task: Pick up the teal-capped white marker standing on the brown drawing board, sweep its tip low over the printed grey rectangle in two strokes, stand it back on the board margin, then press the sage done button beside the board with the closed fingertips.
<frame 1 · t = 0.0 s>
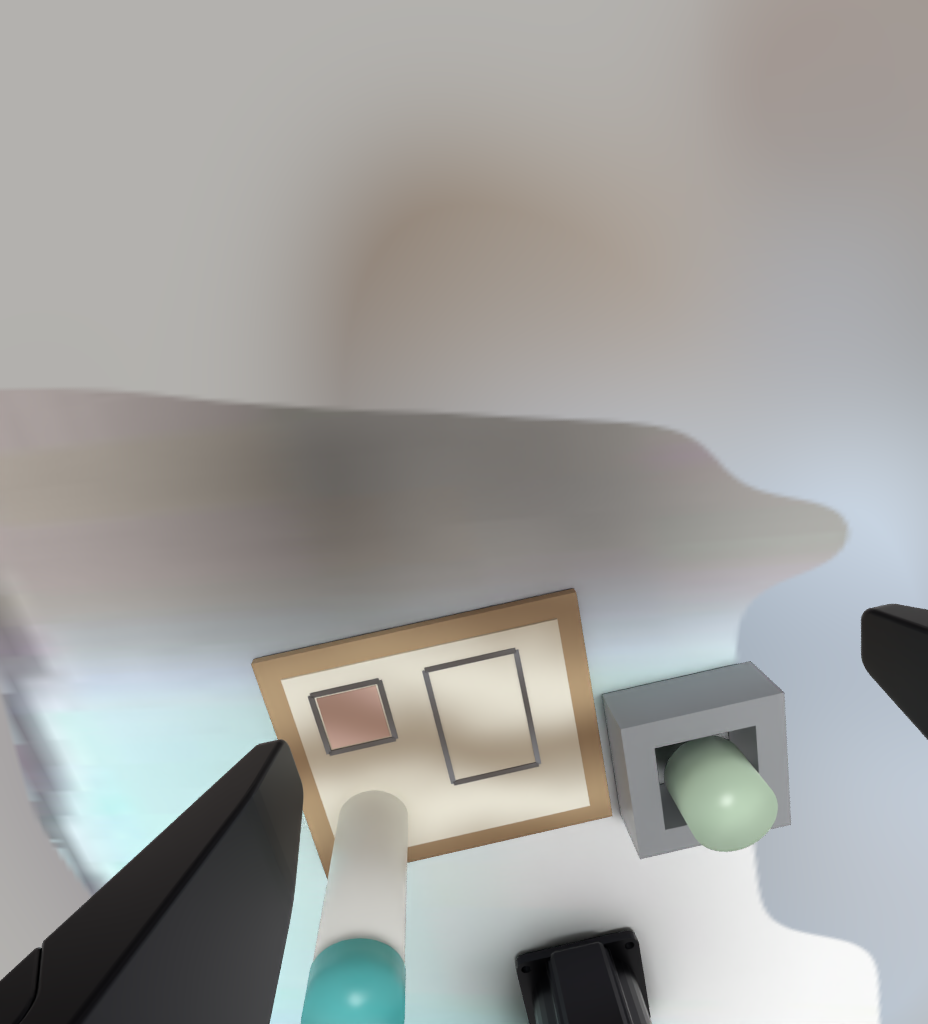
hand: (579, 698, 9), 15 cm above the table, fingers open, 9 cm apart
marker: (373, 819, 26), resting on drawing board
drawing board: (444, 739, 26), on the table
button housing: (683, 740, 27), on the table
done button: (718, 791, 24), point 3 cm above the table, slide at 0.0 cm
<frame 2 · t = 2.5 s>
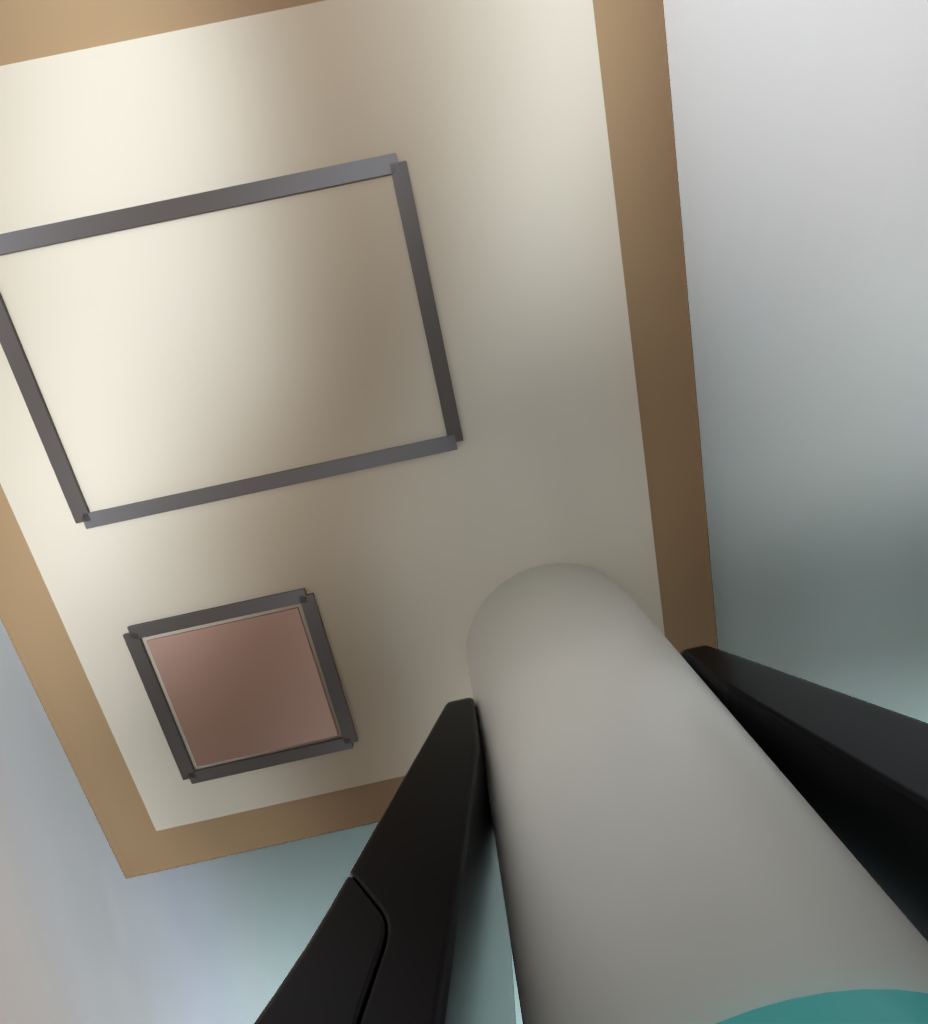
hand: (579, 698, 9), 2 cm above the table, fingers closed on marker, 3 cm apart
marker: (555, 646, 10), point 1 cm above the table, touching drawing board, gripper
drawing board: (337, 462, 9), on the table
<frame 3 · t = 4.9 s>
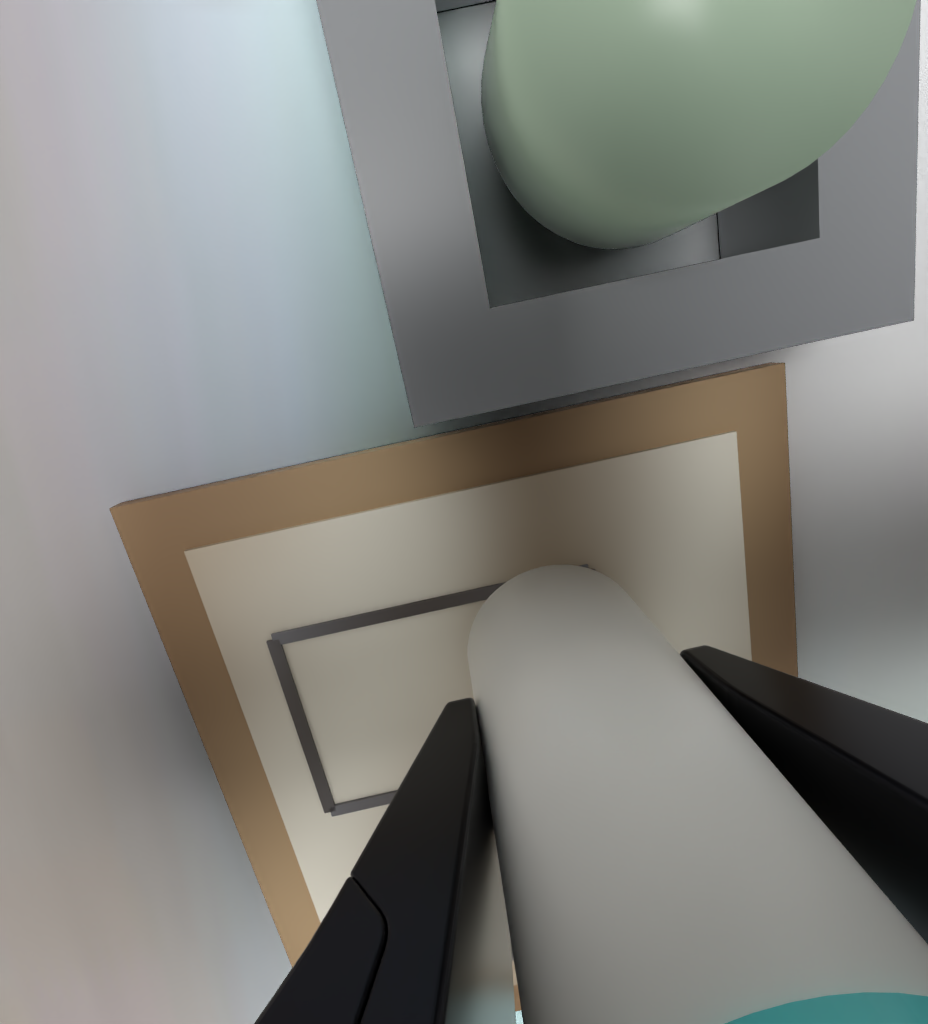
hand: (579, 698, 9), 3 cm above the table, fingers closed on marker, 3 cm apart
marker: (555, 647, 10), point 1 cm above the table, touching gripper
drawing board: (516, 750, 12), on the table
button housing: (579, 150, 9), on the table
done button: (662, 43, 6), point 3 cm above the table, slide at 0.0 cm
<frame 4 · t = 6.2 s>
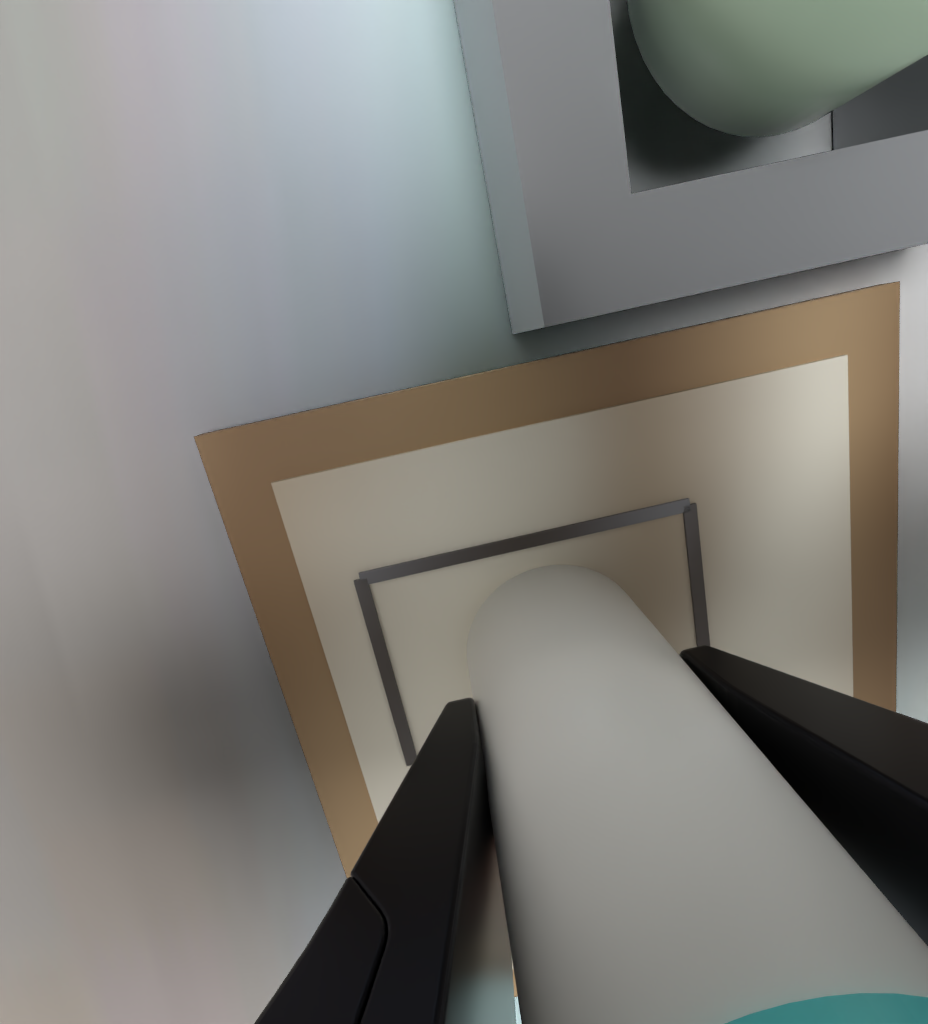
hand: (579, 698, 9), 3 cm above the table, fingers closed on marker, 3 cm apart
marker: (555, 647, 10), point 1 cm above the table, touching gripper
drawing board: (602, 701, 12), on the table
button housing: (693, 51, 9), on the table
when the fingers open (3 cm above the table, at t = 7.4 s): marker stays where it is, resting on drawing board.
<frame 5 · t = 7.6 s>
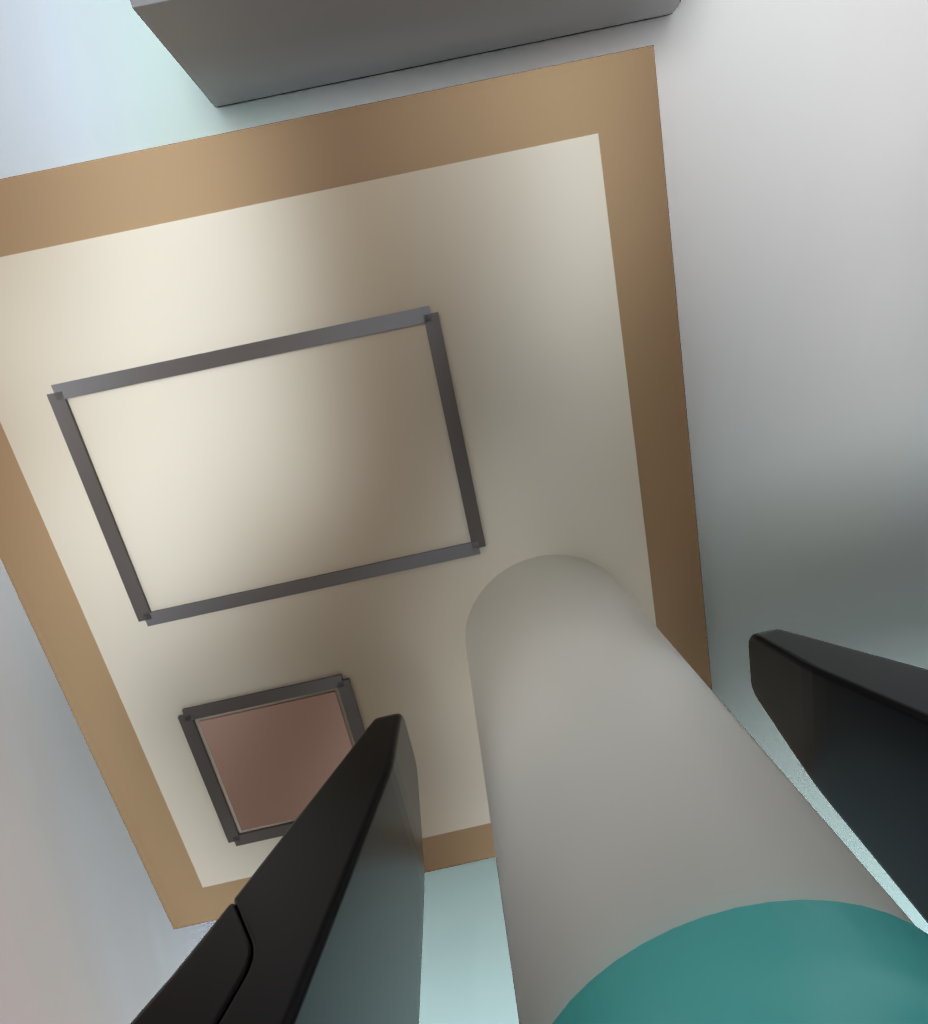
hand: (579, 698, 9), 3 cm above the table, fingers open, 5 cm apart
marker: (550, 635, 11), point 1 cm above the table, touching drawing board
drawing board: (371, 560, 10), on the table
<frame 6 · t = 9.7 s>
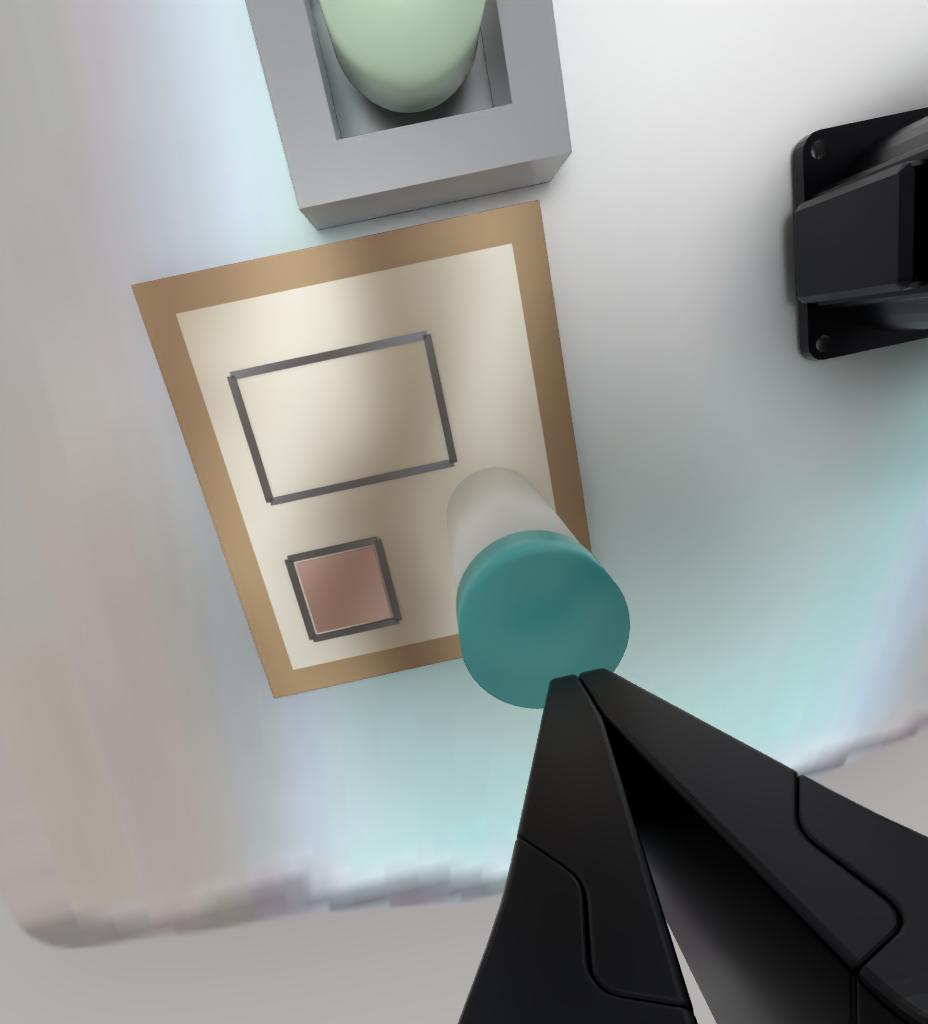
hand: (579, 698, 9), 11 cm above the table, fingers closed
marker: (494, 515, 19), point 1 cm above the table, touching drawing board
drawing board: (393, 472, 19), on the table
button housing: (406, 67, 16), on the table
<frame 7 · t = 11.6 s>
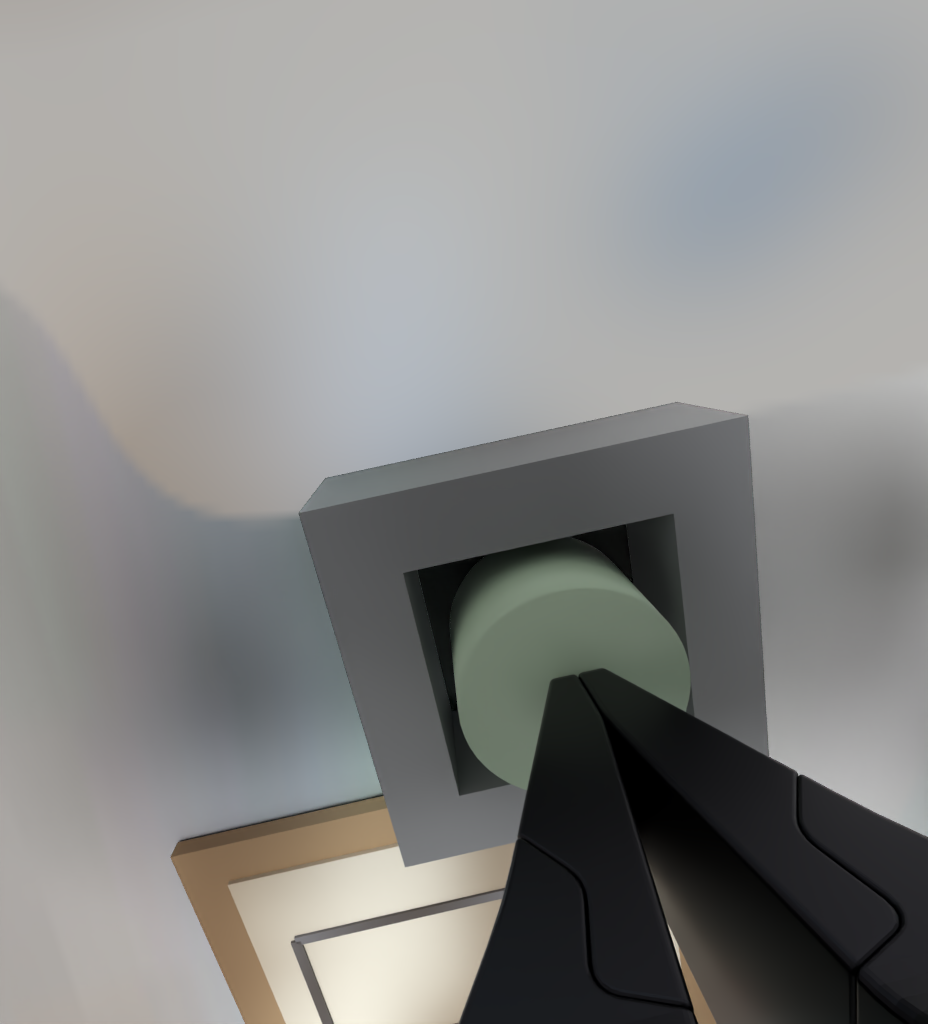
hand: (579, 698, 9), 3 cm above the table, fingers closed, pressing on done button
drawing board: (490, 996, 15), on the table
button housing: (531, 601, 12), on the table
done button: (556, 655, 10), point 2 cm above the table, slide at 1.0 cm, touching gripper
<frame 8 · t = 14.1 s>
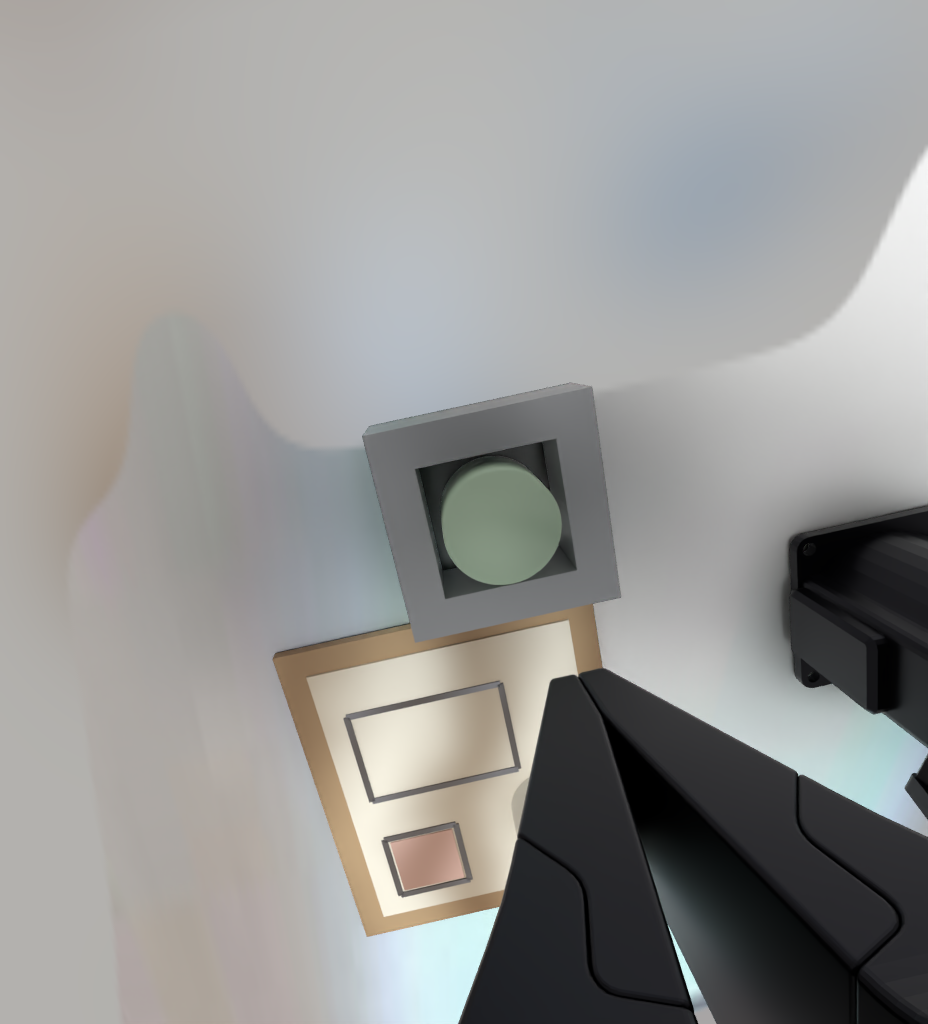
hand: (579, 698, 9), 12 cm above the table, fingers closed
marker: (549, 803, 23), point 1 cm above the table, touching drawing board
drawing board: (468, 770, 23), on the table
button housing: (489, 501, 20), on the table
done button: (497, 517, 18), point 2 cm above the table, slide at 1.2 cm
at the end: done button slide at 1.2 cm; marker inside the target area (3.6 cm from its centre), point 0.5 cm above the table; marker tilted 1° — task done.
